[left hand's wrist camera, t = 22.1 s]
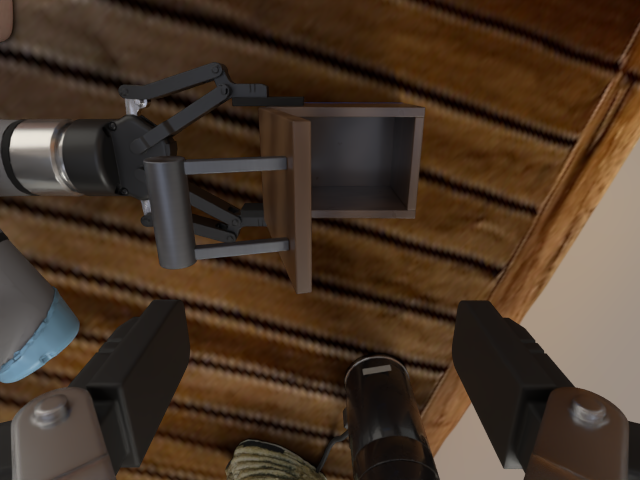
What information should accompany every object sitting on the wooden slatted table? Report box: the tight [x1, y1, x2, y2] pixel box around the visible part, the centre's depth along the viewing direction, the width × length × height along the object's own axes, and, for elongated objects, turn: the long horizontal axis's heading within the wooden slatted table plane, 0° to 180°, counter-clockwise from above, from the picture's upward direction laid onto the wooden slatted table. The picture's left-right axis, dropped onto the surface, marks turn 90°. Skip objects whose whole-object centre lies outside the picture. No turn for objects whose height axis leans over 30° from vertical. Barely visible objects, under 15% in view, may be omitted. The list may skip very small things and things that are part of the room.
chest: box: [267, 102, 425, 218], centre depth 41 cm, size 14×10×11 cm
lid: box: [143, 107, 312, 294], centre depth 28 cm, size 15×10×9 cm
